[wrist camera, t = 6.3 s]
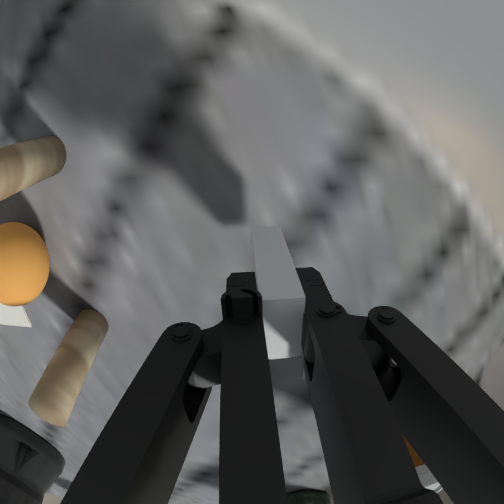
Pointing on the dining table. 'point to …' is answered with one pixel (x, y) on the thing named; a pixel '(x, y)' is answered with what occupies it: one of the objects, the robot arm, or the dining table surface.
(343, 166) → the dining table surface
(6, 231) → the ball
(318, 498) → the coffee jar
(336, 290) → the dining table surface
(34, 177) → the post
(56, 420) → the post
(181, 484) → the dining table surface
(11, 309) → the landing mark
